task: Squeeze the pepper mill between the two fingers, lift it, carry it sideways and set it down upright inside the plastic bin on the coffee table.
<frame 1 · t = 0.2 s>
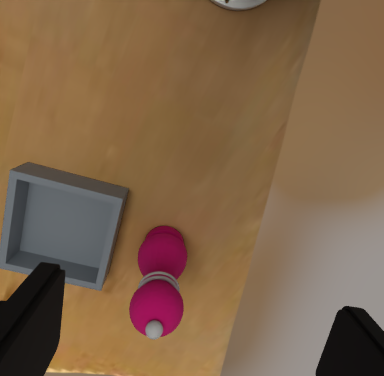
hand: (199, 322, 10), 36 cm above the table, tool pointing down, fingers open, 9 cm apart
pepper mill: (164, 242, 50), on the table
bin: (70, 220, 48), on the table
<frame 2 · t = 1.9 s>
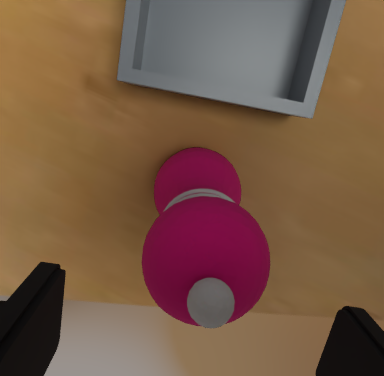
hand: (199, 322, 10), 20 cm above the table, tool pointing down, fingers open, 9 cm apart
pepper mill: (195, 178, 30), on the table
bin: (229, 9, 26), on the table
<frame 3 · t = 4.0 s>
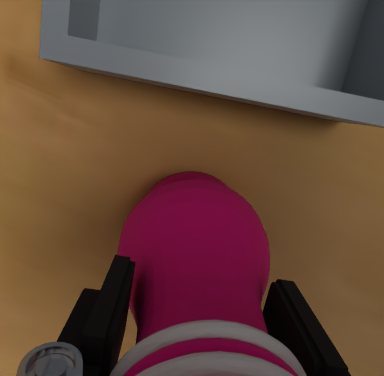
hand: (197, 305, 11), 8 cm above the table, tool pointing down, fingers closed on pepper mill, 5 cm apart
pepper mill: (190, 218, 19), on the table, touching gripper
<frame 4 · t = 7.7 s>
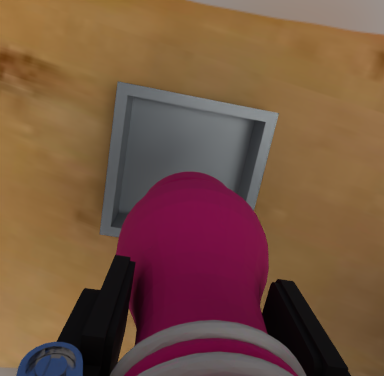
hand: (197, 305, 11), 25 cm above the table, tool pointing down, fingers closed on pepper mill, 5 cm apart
pepper mill: (188, 218, 19), point 16 cm above the table, touching gripper
bin: (184, 165, 35), on the table
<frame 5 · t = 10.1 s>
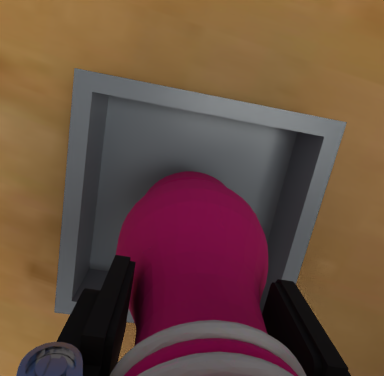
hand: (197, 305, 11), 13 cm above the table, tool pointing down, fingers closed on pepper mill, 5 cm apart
pepper mill: (188, 218, 19), point 4 cm above the table, touching gripper
bin: (188, 198, 23), on the table
when the fingers open (11 cm above the table, at t = 11.6 s): pepper mill drops 1 cm, resting on bin.
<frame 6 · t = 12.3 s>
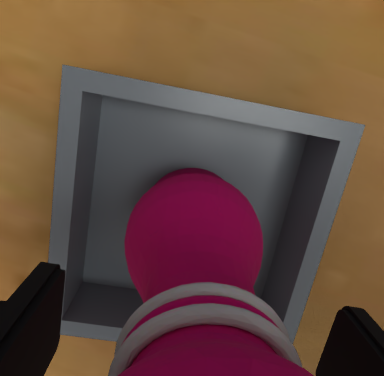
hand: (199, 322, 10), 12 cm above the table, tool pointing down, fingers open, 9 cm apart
pepper mill: (191, 211, 21), point 1 cm above the table, touching bin
bin: (189, 206, 22), on the table
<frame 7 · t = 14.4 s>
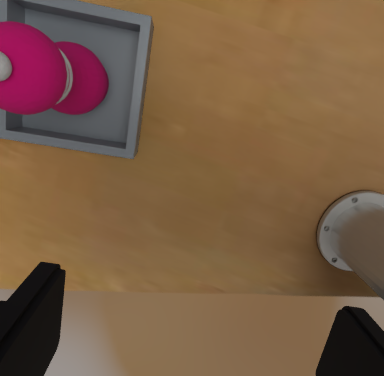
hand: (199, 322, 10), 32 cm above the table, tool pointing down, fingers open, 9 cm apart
pepper mill: (82, 81, 37), point 1 cm above the table, touching bin
bin: (83, 81, 37), on the table
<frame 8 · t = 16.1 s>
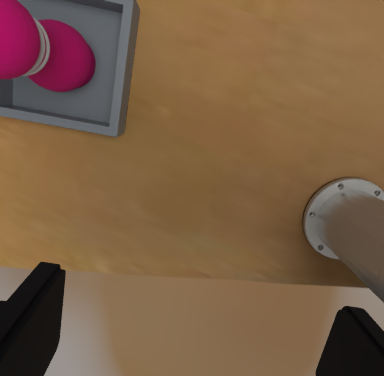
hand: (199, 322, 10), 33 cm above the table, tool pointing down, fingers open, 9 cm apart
pepper mill: (70, 62, 38), point 1 cm above the table, touching bin
bin: (71, 62, 39), on the table
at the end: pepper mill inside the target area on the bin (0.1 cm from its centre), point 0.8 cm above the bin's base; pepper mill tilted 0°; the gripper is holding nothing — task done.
